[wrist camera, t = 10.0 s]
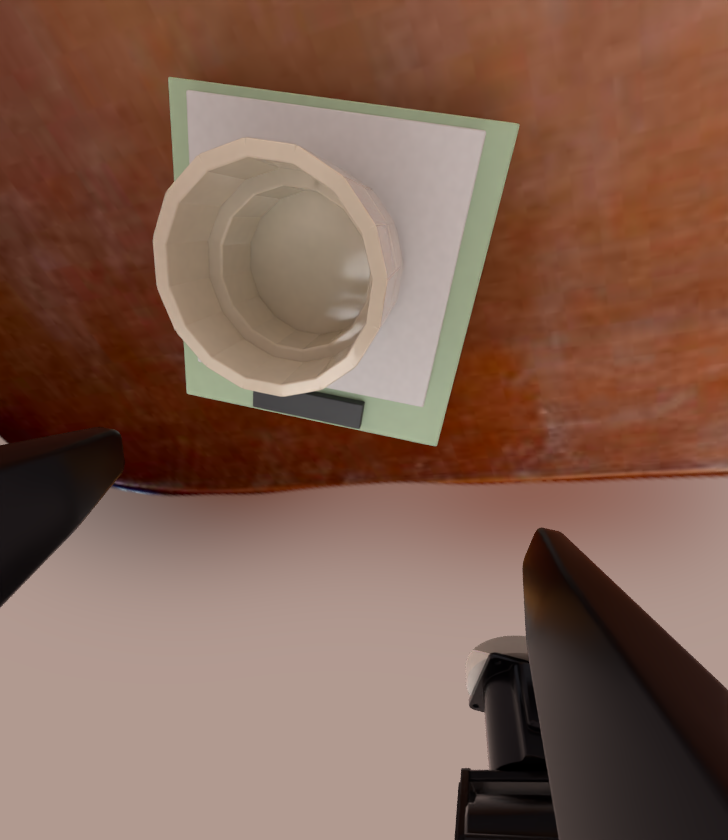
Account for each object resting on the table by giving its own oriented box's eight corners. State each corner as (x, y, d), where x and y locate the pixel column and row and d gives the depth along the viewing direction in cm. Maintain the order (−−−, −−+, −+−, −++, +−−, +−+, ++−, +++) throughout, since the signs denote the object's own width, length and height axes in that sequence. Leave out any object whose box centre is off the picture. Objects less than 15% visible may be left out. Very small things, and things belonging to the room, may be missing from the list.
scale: (437, 427, 20) (436, 454, 18) (207, 379, 21) (178, 398, 19) (511, 135, 15) (523, 118, 12) (198, 92, 16) (155, 70, 14)
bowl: (387, 363, 16) (366, 415, 12) (236, 333, 17) (163, 372, 13) (419, 180, 14) (406, 159, 9) (236, 153, 14) (141, 121, 10)
